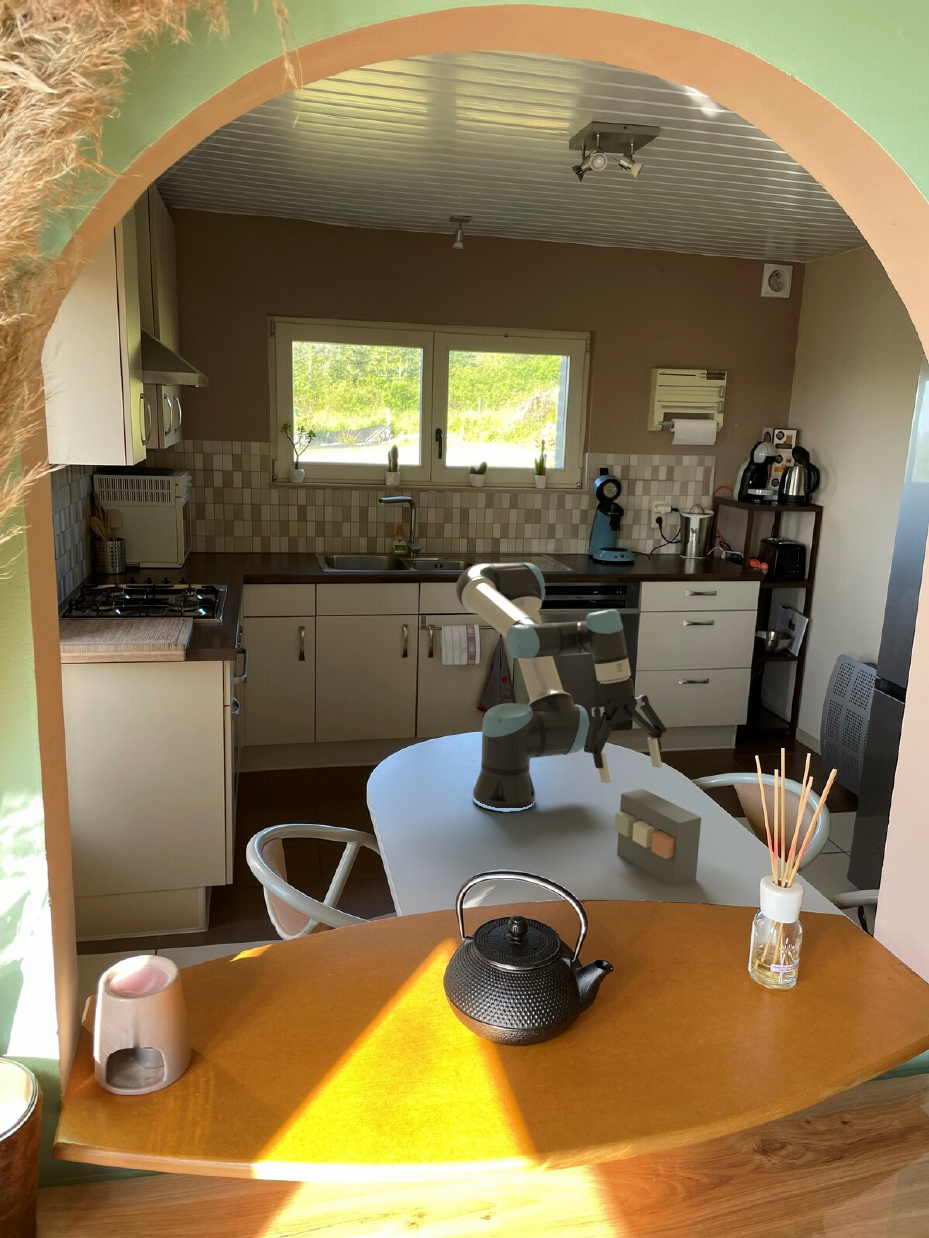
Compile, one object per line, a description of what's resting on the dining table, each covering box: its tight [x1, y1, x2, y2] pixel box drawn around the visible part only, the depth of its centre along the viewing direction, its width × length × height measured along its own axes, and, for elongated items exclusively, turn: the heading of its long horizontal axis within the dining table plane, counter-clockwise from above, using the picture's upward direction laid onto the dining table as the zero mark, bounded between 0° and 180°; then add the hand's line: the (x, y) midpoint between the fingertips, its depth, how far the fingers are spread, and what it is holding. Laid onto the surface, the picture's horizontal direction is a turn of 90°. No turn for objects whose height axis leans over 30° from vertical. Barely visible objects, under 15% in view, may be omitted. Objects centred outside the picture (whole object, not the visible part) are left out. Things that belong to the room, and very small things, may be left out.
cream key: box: [632, 820, 656, 848], centre depth 189 cm, size 4×4×4 cm
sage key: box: [613, 811, 637, 837], centre depth 193 cm, size 4×4×4 cm
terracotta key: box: [651, 831, 675, 859], centre depth 184 cm, size 4×4×4 cm
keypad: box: [616, 788, 702, 887], centre depth 191 cm, size 17×6×14 cm, turn 31°
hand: (631, 774), depth 205 cm, fingers open, 13 cm apart
